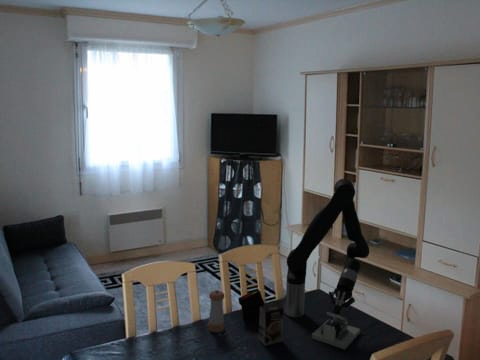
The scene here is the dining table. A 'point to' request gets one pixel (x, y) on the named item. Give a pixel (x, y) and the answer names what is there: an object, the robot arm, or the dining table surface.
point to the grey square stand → (330, 334)
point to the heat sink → (337, 329)
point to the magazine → (251, 305)
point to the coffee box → (271, 324)
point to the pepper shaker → (216, 311)
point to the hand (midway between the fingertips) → (335, 314)
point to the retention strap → (336, 316)
